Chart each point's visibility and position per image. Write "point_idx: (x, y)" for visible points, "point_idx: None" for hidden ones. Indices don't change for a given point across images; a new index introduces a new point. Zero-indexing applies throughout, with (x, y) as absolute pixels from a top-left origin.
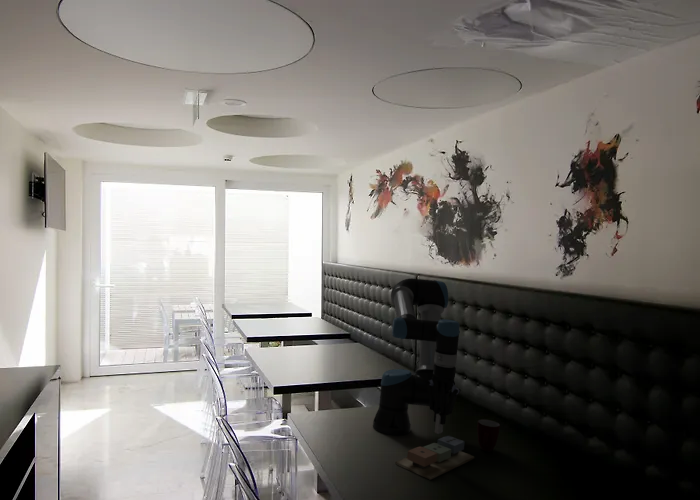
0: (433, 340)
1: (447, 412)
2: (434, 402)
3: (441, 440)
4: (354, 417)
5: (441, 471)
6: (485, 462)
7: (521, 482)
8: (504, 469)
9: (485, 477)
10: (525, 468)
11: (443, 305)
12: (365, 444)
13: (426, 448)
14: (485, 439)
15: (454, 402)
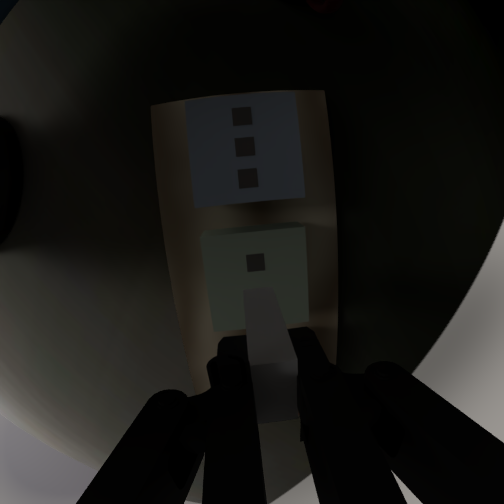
0: None
1: (387, 431)
2: (159, 454)
3: (216, 199)
4: None
5: (334, 333)
6: (364, 89)
7: (484, 147)
8: (425, 93)
9: (428, 211)
10: (440, 39)
11: None
12: (53, 363)
13: (232, 329)
14: (338, 2)
15: (490, 450)
